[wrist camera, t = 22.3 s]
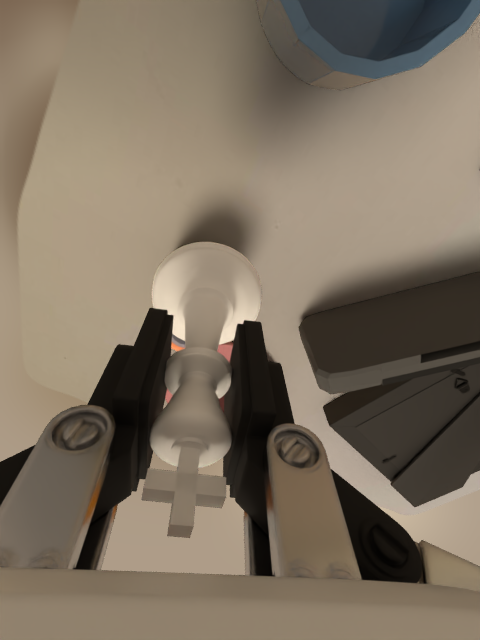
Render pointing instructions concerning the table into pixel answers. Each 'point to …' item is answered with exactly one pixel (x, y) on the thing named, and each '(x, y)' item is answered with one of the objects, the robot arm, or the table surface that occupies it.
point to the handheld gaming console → (395, 336)
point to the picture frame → (416, 430)
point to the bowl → (361, 36)
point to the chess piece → (198, 373)
